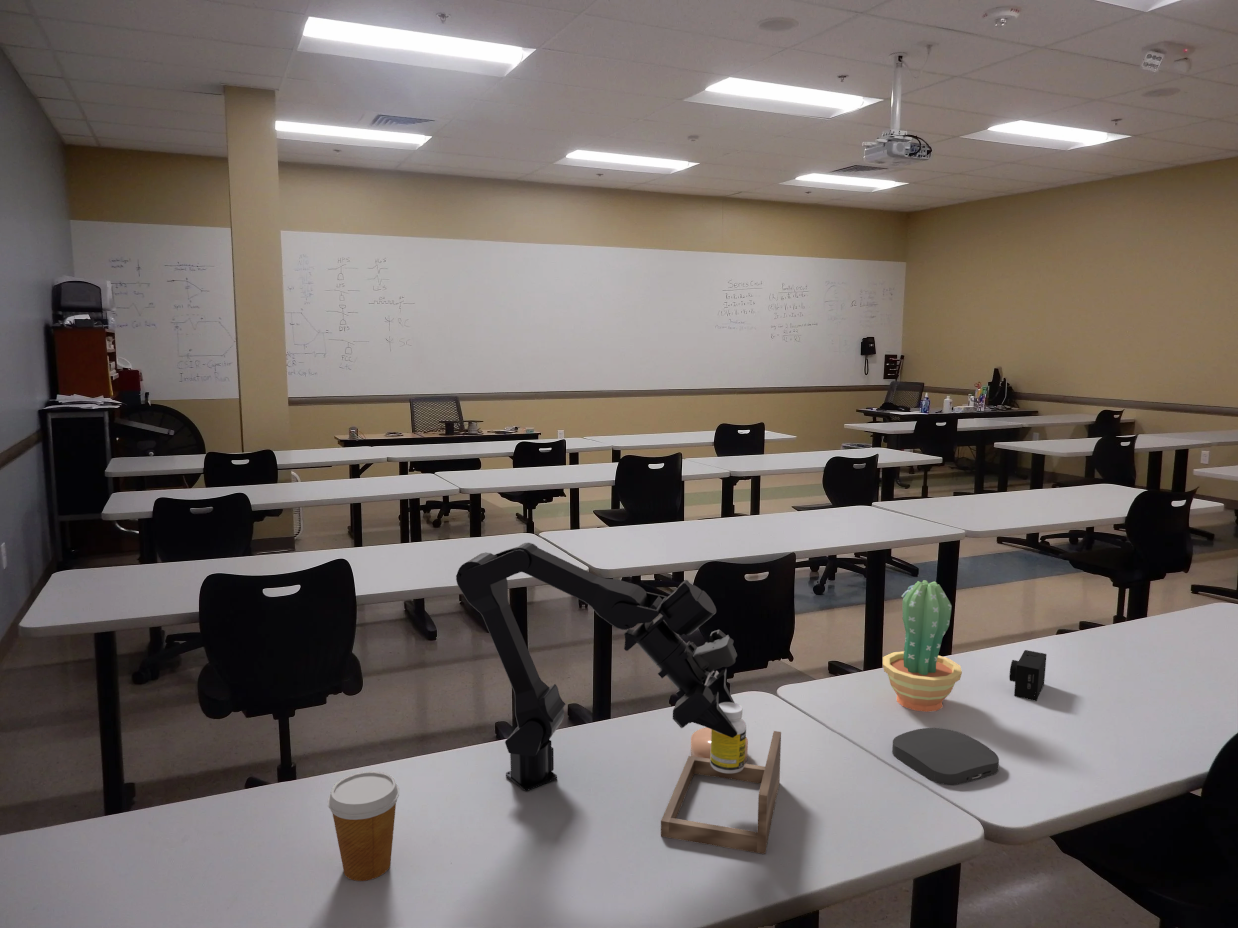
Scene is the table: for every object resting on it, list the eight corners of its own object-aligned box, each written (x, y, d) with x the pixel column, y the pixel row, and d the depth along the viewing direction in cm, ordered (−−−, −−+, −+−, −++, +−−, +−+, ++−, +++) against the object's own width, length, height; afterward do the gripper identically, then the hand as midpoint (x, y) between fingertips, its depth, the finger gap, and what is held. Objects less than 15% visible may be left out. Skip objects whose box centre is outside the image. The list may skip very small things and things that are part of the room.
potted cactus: (966, 696, 173) (974, 579, 169) (951, 725, 160) (959, 599, 156) (890, 680, 181) (896, 568, 177) (870, 706, 168) (876, 586, 165)
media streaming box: (882, 751, 151) (883, 735, 150) (944, 736, 157) (945, 721, 156) (943, 790, 138) (944, 773, 137) (1008, 773, 143) (1009, 756, 143)
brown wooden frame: (660, 836, 124) (661, 779, 123) (688, 769, 144) (689, 719, 142) (765, 854, 120) (767, 795, 119) (779, 782, 140) (781, 731, 138)
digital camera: (1016, 678, 183) (1018, 647, 182) (1044, 684, 180) (1046, 653, 179) (1007, 695, 174) (1010, 663, 173) (1036, 701, 171) (1039, 668, 170)
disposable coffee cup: (340, 848, 121) (336, 770, 120) (407, 844, 122) (404, 768, 120) (323, 890, 112) (318, 807, 110) (395, 887, 113) (392, 804, 111)
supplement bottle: (744, 776, 129) (746, 716, 127) (709, 772, 130) (710, 713, 128) (745, 759, 134) (747, 701, 132) (711, 755, 135) (712, 698, 133)
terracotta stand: (719, 775, 142) (719, 759, 141) (679, 753, 149) (679, 737, 149) (759, 757, 148) (759, 741, 147) (718, 736, 156) (719, 721, 155)
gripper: (696, 641, 120) (771, 723, 119) (715, 602, 138) (780, 673, 137) (642, 687, 123) (714, 767, 122) (667, 643, 141) (730, 713, 140)
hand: (737, 727), depth 130 cm, fingers closed on supplement bottle, 5 cm apart
